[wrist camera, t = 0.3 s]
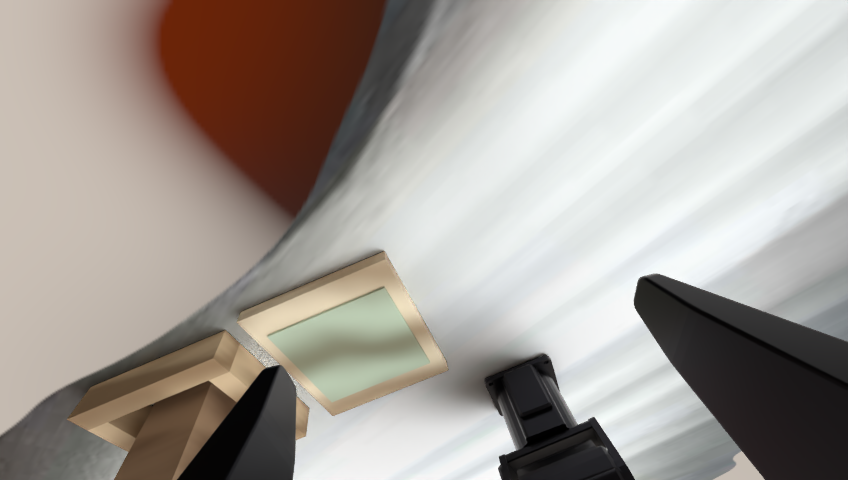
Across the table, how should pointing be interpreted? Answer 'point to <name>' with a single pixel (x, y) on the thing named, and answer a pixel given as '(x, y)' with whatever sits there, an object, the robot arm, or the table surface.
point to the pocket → (170, 388)
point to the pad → (348, 335)
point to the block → (175, 433)
